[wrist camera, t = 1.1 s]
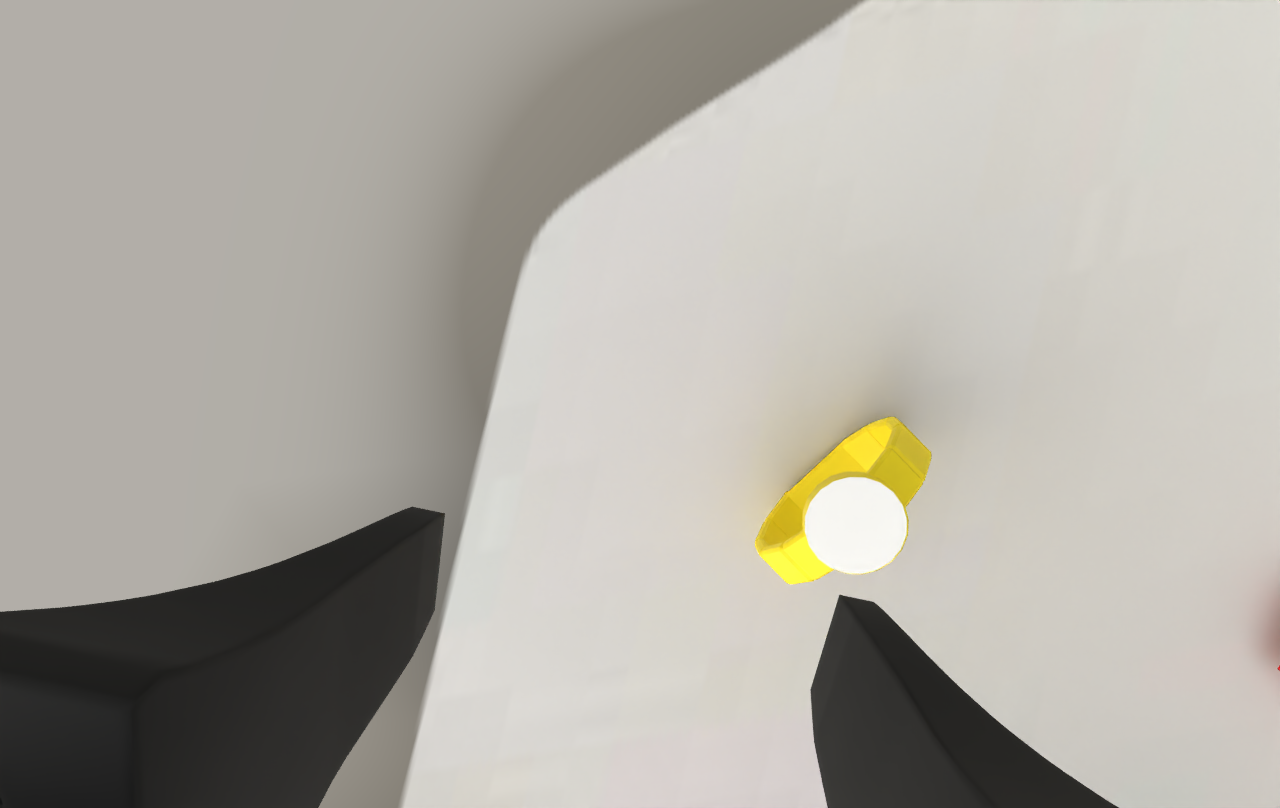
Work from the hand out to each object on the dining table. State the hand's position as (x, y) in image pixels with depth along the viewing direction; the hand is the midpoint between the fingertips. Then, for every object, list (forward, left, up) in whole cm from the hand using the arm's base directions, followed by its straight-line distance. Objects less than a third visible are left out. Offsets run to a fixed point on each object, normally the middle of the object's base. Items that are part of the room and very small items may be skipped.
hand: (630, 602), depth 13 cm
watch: (-5, -2, -14) cm, 15 cm away
